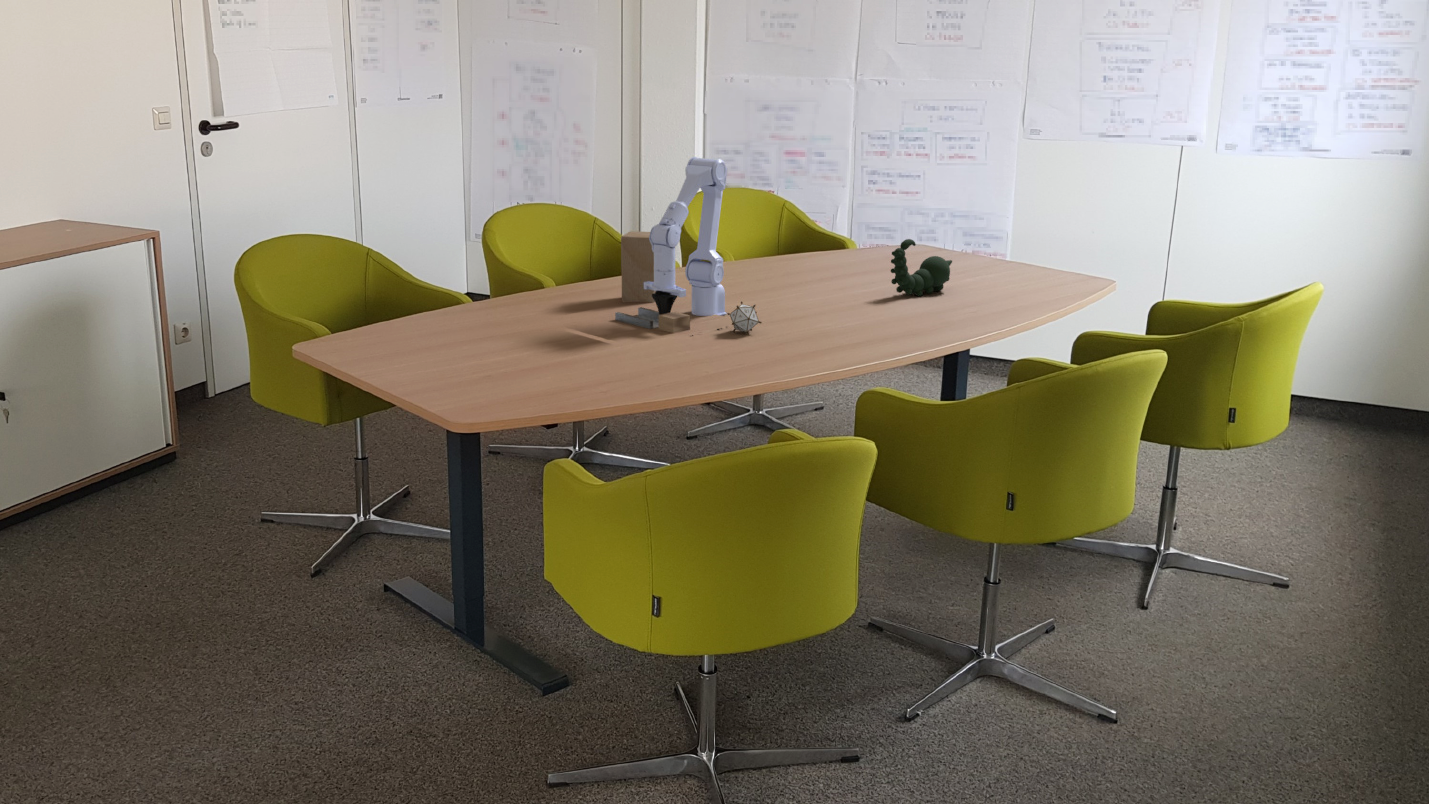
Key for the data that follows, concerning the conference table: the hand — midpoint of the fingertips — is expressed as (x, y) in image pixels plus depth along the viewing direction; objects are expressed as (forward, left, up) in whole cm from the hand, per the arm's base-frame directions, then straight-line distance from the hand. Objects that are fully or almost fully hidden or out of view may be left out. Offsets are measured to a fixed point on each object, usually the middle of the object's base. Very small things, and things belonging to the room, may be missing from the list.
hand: (664, 319), depth 326 cm
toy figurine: (-89, +22, -3) cm, 92 cm away
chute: (0, -4, -3) cm, 5 cm away
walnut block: (0, +4, -2) cm, 5 cm away
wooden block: (-19, -30, -3) cm, 35 cm away
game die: (-13, +17, -3) cm, 22 cm away
